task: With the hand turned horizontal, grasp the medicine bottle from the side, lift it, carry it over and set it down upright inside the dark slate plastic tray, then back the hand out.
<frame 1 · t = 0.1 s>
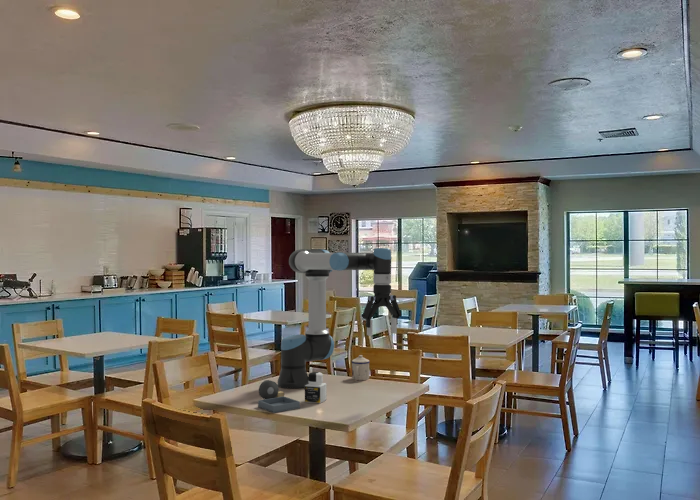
hand: (381, 334, 258), 28 cm above the table, tool pointing down, fingers open, 13 cm apart
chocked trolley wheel: (268, 399, 259), on the table
teacup with lid: (359, 379, 303), on the table
tray: (278, 407, 245), on the table
medicine bottle: (315, 401, 256), on the table
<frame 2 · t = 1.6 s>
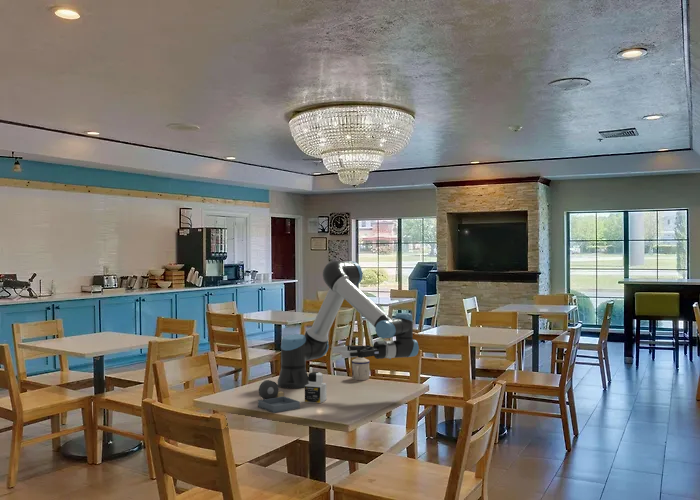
hand: (337, 352, 259), 20 cm above the table, tool horizontal, fingers open, 13 cm apart
nothing on the table moved.
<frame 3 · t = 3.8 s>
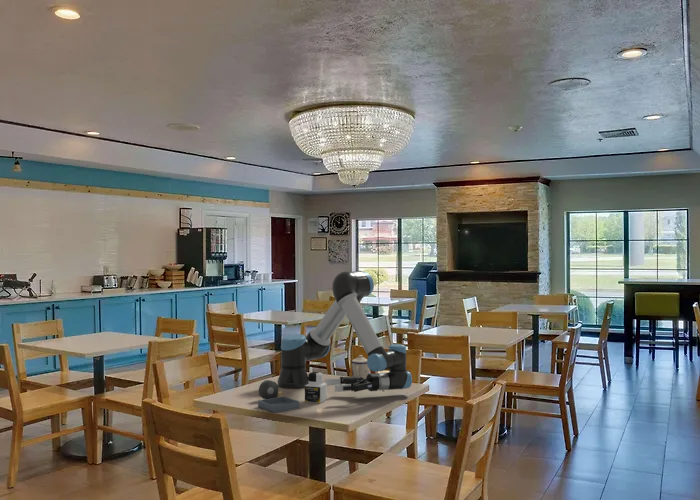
hand: (330, 385, 258), 6 cm above the table, tool horizontal, fingers open, 13 cm apart
nothing on the table moved.
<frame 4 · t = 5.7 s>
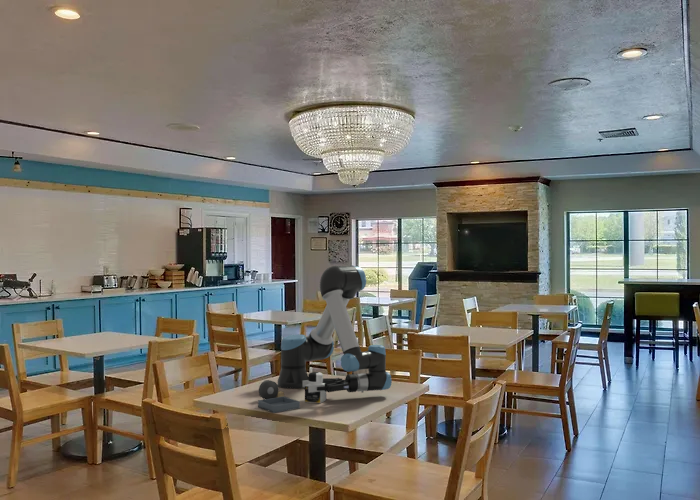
hand: (305, 386, 255), 6 cm above the table, tool horizontal, fingers closed on medicine bottle, 10 cm apart
medicine bottle: (315, 401, 256), on the table, touching gripper
everything else where it was.
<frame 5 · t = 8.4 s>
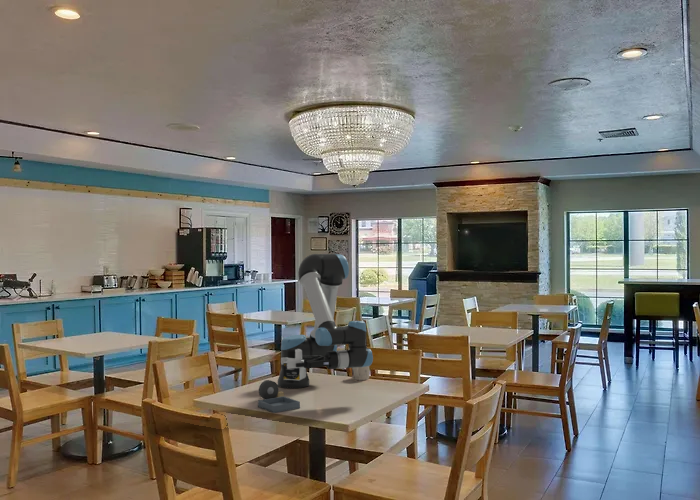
hand: (284, 363, 247), 18 cm above the table, tool horizontal, fingers closed on medicine bottle, 10 cm apart
medicine bottle: (294, 379, 248), point 11 cm above the table, touching gripper
everything else where it was.
when the fingers open (9 cm above the table, at t = 11.1 s): medicine bottle drops 1 cm, resting on tray.
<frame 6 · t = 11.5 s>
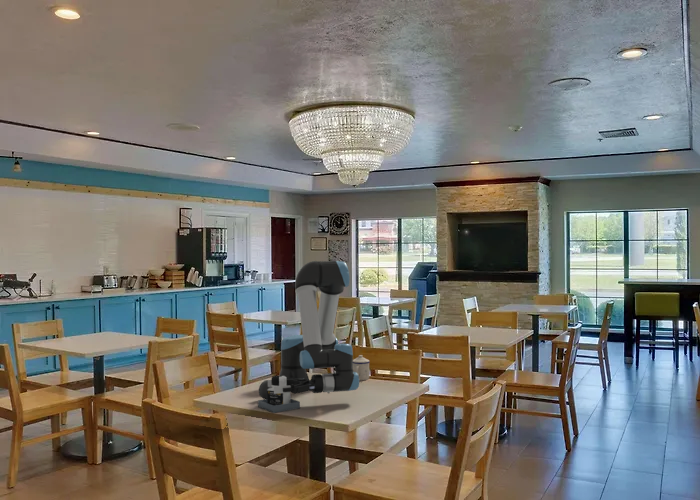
hand: (270, 386, 244), 9 cm above the table, tool horizontal, fingers open, 13 cm apart
medicine bottle: (279, 406, 245), resting on tray
everything else where it was.
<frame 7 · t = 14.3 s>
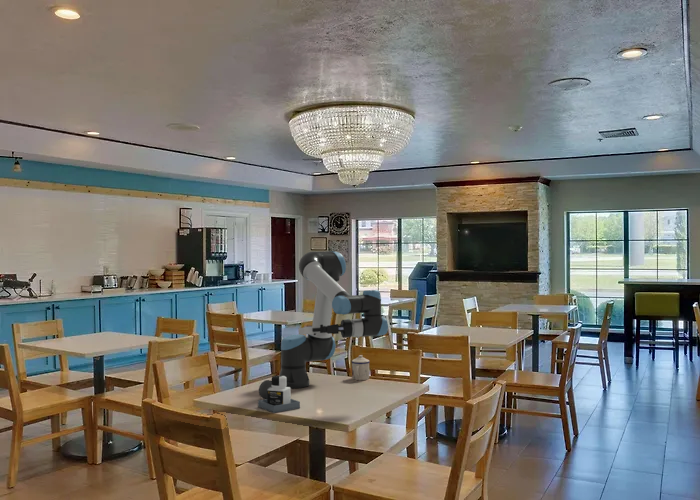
hand: (301, 330, 250), 30 cm above the table, tool horizontal, fingers open, 13 cm apart
nothing on the table moved.
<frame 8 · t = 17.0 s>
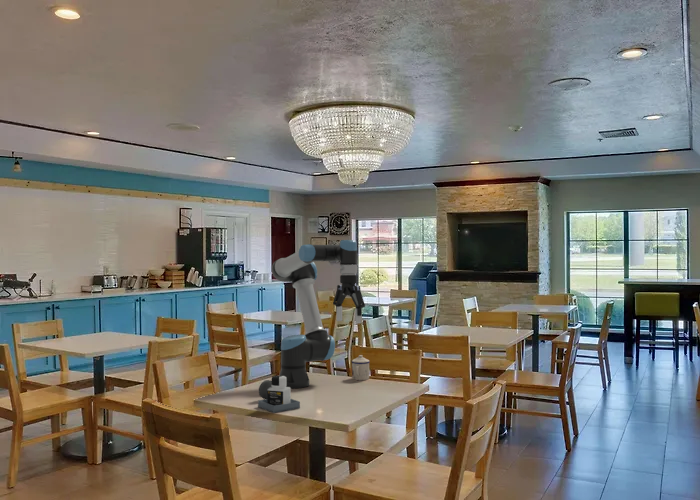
hand: (348, 322, 271), 32 cm above the table, tool pointing down, fingers open, 13 cm apart
nothing on the table moved.
at the end: medicine bottle inside the target area on the tray (0.1 cm from its centre), point 0.4 cm above the tray's base; medicine bottle tilted 0°; the gripper is holding nothing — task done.
